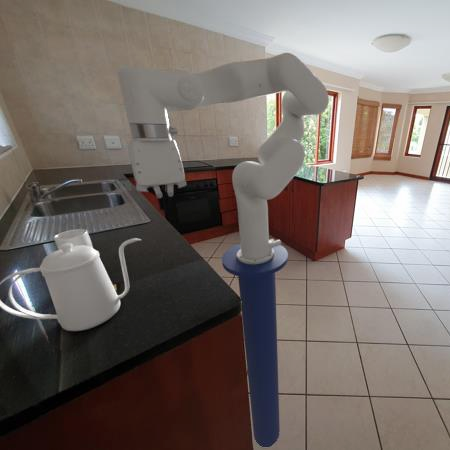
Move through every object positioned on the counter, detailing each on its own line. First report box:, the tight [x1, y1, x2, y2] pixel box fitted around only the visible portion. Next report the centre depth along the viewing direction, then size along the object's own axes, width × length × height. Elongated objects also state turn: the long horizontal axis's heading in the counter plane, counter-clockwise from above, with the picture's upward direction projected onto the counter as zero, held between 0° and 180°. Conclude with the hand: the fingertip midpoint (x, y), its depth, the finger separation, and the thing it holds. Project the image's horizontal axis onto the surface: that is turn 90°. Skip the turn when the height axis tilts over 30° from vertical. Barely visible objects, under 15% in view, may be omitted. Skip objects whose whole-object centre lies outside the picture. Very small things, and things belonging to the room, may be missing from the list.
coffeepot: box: [0, 237, 142, 332], centre depth 53 cm, size 11×25×19 cm, turn 126°
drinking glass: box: [53, 228, 94, 250], centre depth 65 cm, size 7×7×15 cm
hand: (167, 211), depth 59 cm, fingers closed
